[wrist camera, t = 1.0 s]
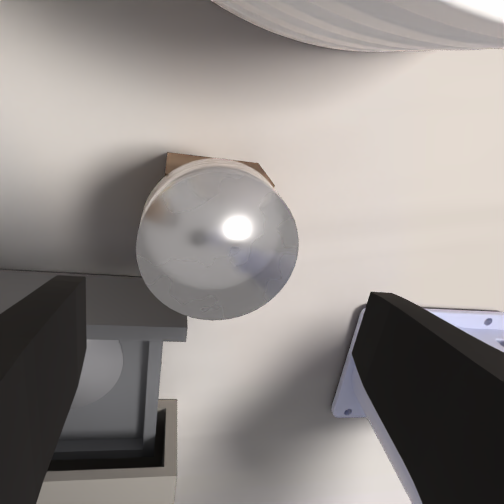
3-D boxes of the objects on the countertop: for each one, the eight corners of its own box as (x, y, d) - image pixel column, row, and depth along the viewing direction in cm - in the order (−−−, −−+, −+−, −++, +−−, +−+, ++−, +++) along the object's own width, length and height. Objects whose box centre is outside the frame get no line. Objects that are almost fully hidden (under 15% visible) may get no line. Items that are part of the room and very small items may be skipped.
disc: (297, 167, 15) (313, 182, 13) (272, 295, 17) (282, 322, 16) (144, 149, 14) (139, 162, 12) (137, 288, 16) (132, 317, 14)
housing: (177, 399, 24) (177, 475, 19) (165, 512, 28) (163, 596, 23) (-61, 400, 21) (-122, 489, 17) (-35, 524, 25) (-79, 621, 21)
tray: (186, 270, 20) (188, 317, 16) (171, 425, 24) (170, 489, 21) (-87, 254, 18) (-154, 304, 14) (-52, 429, 22) (-97, 502, 18)
